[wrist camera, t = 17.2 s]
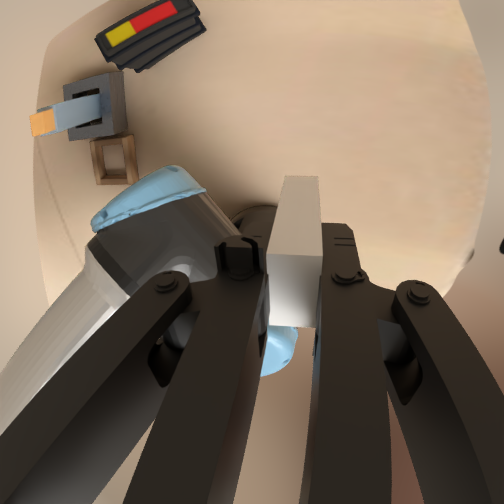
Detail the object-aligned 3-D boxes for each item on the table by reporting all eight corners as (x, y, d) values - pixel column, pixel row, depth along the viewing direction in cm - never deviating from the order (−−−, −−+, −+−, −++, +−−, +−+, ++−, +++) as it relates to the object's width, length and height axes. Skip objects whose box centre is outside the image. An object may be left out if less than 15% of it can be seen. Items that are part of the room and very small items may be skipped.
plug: (111, 114, 41) (48, 136, 29) (94, 117, 41) (31, 140, 29) (109, 91, 39) (44, 107, 26) (91, 95, 39) (27, 113, 27)
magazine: (118, 66, 35) (91, 35, 21) (194, 25, 35) (201, -20, 21) (128, 84, 36) (104, 59, 23) (205, 42, 36) (216, 2, 23)
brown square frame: (139, 180, 47) (133, 184, 45) (103, 180, 48) (96, 184, 46) (133, 134, 42) (126, 137, 41) (96, 138, 44) (89, 141, 42)
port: (127, 129, 42) (114, 134, 39) (83, 135, 44) (69, 141, 40) (123, 71, 37) (108, 72, 33) (78, 82, 38) (63, 85, 35)
